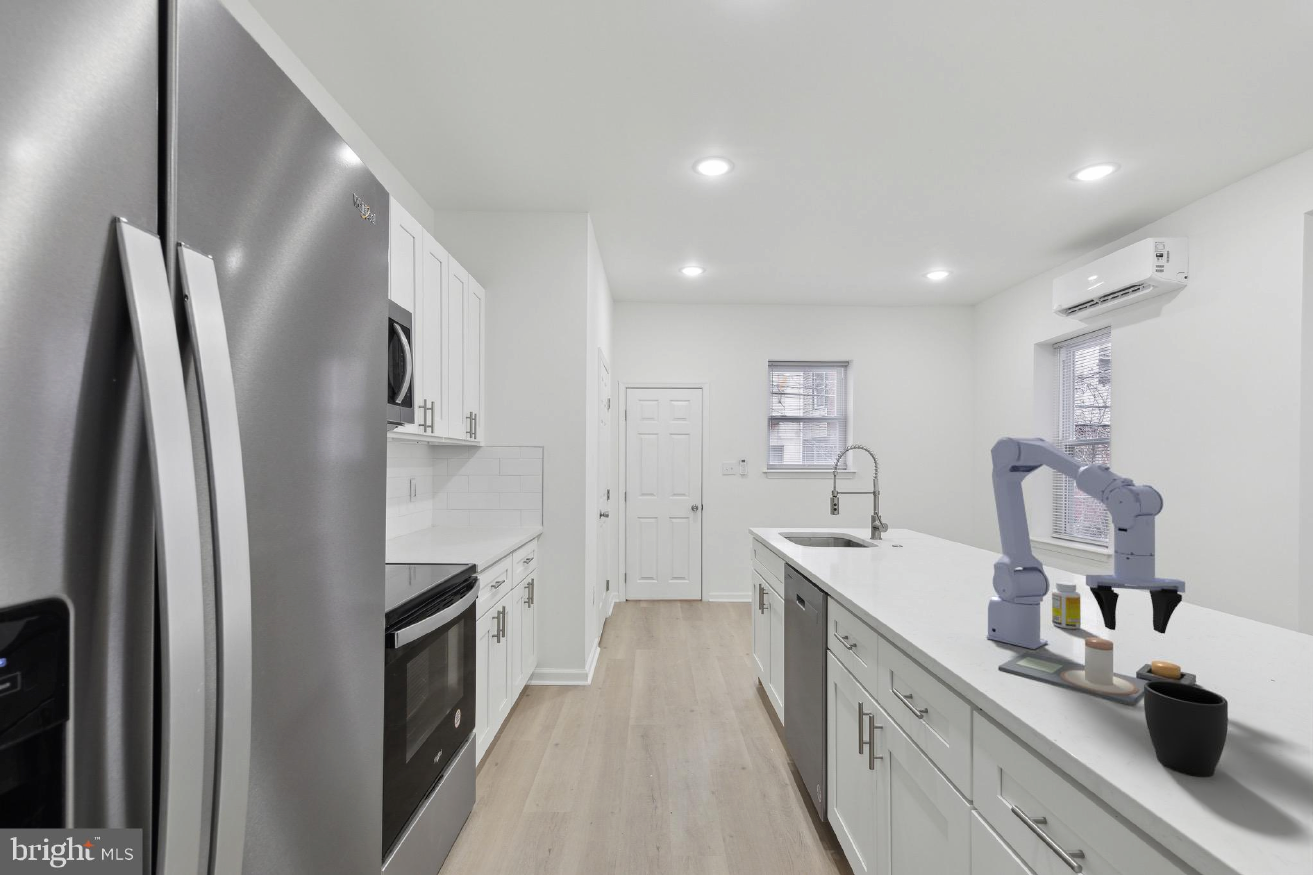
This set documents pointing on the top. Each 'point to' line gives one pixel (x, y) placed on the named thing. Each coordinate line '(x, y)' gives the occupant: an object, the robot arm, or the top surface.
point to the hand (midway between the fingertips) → (1134, 630)
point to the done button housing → (1147, 675)
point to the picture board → (1074, 677)
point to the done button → (1166, 669)
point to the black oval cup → (1186, 726)
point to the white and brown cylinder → (1099, 661)
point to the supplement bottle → (1066, 606)
